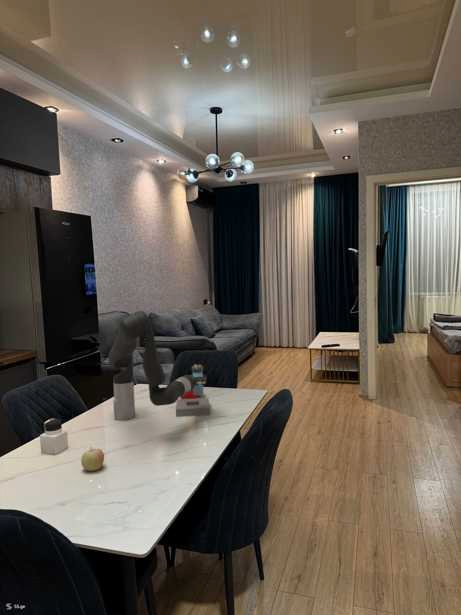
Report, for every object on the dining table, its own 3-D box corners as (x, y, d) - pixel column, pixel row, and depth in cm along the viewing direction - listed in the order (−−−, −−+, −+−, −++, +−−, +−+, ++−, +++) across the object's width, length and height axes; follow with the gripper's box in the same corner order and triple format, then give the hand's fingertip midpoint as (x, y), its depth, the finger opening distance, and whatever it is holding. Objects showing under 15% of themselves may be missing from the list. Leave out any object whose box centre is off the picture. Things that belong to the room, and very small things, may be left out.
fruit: (92, 475, 142) (90, 452, 141) (77, 471, 146) (76, 448, 145) (109, 466, 148) (108, 444, 147) (95, 462, 152) (94, 440, 151)
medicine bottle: (68, 447, 166) (66, 418, 165) (55, 455, 159) (53, 424, 158) (54, 445, 168) (52, 416, 167) (40, 453, 162) (38, 422, 161)
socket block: (176, 416, 198) (175, 409, 198) (177, 406, 214) (176, 399, 214) (210, 414, 199) (209, 407, 199) (208, 404, 215) (208, 397, 215)
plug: (193, 395, 196) (191, 366, 195) (192, 392, 201) (191, 364, 200) (204, 394, 196) (203, 366, 195) (203, 391, 201) (202, 363, 200)
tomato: (201, 401, 221) (201, 381, 221) (176, 401, 222) (176, 382, 221) (203, 393, 235) (203, 375, 234) (180, 394, 235) (179, 375, 234)
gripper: (197, 378, 182) (213, 369, 197) (168, 376, 187) (186, 367, 203) (197, 395, 182) (214, 385, 198) (169, 392, 188) (187, 383, 203)
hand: (200, 376), depth 200 cm, fingers closed on plug, 4 cm apart
